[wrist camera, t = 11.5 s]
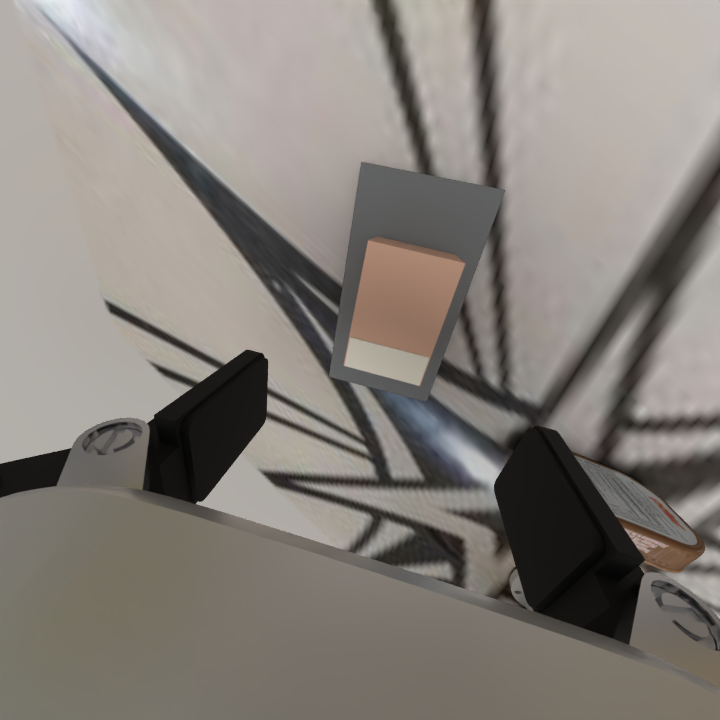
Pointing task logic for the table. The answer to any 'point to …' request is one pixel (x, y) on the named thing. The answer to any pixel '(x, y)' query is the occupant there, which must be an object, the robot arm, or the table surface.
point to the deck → (400, 308)
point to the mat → (417, 227)
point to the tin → (646, 518)
